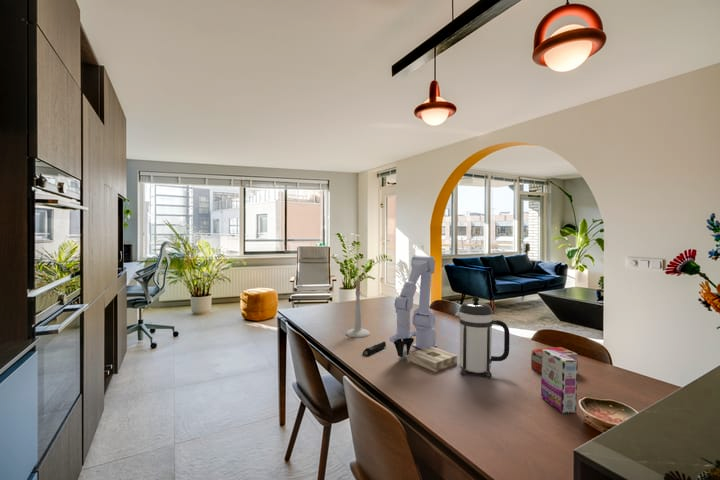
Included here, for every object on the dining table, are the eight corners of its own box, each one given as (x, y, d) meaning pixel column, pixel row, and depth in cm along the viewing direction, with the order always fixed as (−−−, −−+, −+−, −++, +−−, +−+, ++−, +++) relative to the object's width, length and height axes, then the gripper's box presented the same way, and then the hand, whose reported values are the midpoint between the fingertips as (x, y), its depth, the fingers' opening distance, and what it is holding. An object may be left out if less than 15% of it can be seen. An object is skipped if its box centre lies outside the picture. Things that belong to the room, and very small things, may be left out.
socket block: (431, 353, 156) (431, 346, 156) (457, 363, 145) (457, 355, 145) (409, 361, 148) (409, 353, 147) (435, 371, 137) (435, 363, 136)
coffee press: (477, 383, 126) (478, 302, 125) (447, 367, 140) (448, 294, 140) (510, 374, 134) (511, 298, 133) (478, 360, 148) (479, 291, 148)
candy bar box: (577, 413, 106) (578, 360, 105) (562, 414, 105) (563, 361, 105) (554, 396, 117) (555, 348, 117) (540, 396, 117) (541, 348, 116)
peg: (403, 357, 152) (403, 341, 151) (408, 359, 149) (408, 343, 149) (397, 359, 150) (398, 343, 149) (403, 361, 147) (403, 345, 147)
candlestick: (374, 333, 188) (374, 278, 187) (361, 339, 177) (361, 281, 176) (354, 329, 195) (354, 276, 194) (341, 335, 184) (341, 279, 183)
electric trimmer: (388, 348, 165) (388, 342, 165) (368, 357, 153) (368, 350, 153) (381, 346, 167) (381, 340, 167) (361, 355, 155) (361, 348, 155)
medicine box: (546, 377, 133) (546, 356, 132) (530, 368, 140) (530, 349, 140) (577, 373, 136) (578, 353, 136) (560, 365, 144) (561, 346, 144)
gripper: (398, 329, 141) (397, 361, 142) (421, 323, 150) (421, 354, 151) (386, 325, 147) (386, 356, 147) (409, 320, 156) (409, 349, 156)
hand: (403, 355), depth 149 cm, fingers closed on peg, 3 cm apart
